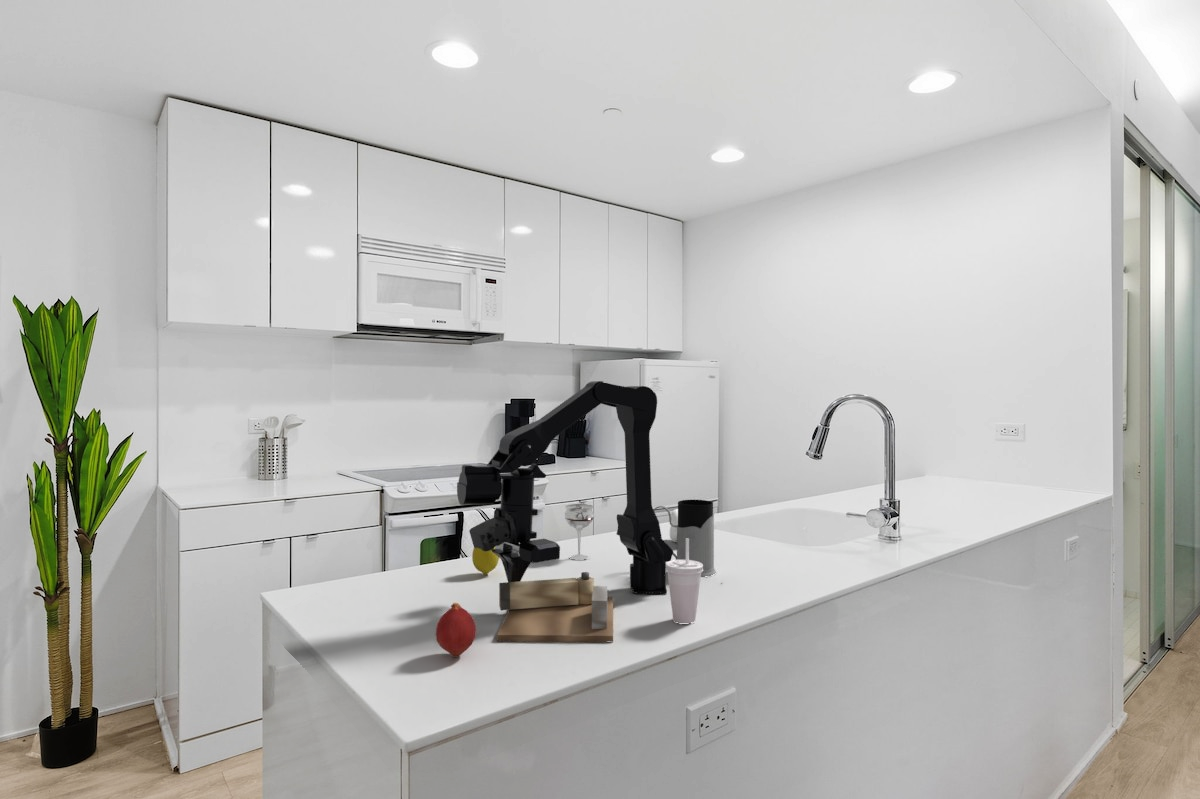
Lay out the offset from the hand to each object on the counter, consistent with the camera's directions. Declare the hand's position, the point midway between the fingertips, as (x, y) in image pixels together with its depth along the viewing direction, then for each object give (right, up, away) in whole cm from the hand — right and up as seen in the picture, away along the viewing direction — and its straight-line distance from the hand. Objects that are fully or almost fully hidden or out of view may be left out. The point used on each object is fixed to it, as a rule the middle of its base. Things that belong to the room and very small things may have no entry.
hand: (513, 590), depth 121 cm
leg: (+6, -2, -1) cm, 7 cm away
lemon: (-9, -3, +23) cm, 25 cm away
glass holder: (+33, -3, +26) cm, 42 cm away
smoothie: (+30, -4, -6) cm, 31 cm away
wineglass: (+11, -3, +37) cm, 39 cm away
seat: (+9, -4, -6) cm, 11 cm away
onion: (-6, -4, -21) cm, 22 cm away
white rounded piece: (+38, -3, +52) cm, 64 cm away
